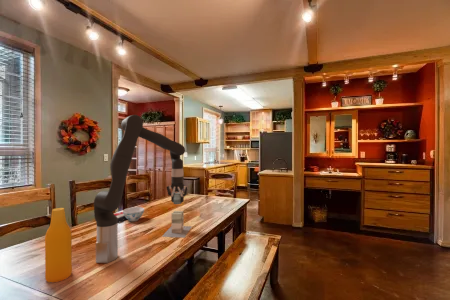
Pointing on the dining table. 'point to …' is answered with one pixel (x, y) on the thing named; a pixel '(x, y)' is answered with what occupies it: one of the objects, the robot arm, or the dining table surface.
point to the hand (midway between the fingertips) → (177, 202)
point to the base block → (177, 227)
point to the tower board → (182, 234)
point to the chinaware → (133, 213)
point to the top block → (178, 217)
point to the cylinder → (177, 198)
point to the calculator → (120, 217)
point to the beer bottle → (58, 248)
